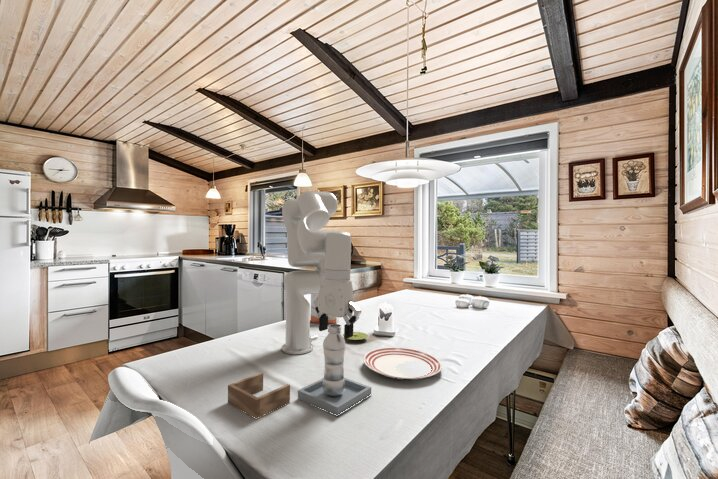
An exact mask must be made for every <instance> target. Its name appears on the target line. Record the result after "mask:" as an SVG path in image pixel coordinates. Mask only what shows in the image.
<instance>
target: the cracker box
mask: <svg viewBox="0 0 718 479" xmlns="http://www.w3.org/2000/svg"><path fill="white" fill-rule="evenodd" d="M318 298H319V293H318V294H310V323H318V324H319V317H318V313H317V312H316V310H315V308H316V307H315V305H314V300H316V299H318ZM326 316H328V324H330V323H331V324H338V323H339V319H340V317H336V316H332V315H328V314H327V315H326Z"/></svg>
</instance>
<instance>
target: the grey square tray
mask: <svg viewBox="0 0 718 479" xmlns="http://www.w3.org/2000/svg"><path fill="white" fill-rule="evenodd" d="M344 379H345V390H344V392H343V393H342V394H341V395H339V396H328V395H326V394H325V393H324V391H323V387H322V383H323V378H321V379H319V380H317V381H315V382H313V383H310V384H308V385H306V386H304V387H302V388H300V389H297V400H299V401H301V400H302V402H304V403H306V404H308V403H309V404H308V405H310V404H312V405H314V406H316V407H315V408H317V407H319V408H321V409H324V410H326V411H328V412H331V413H333V414H336V415H338V414H340V413H341V412H343V411H345V410H346V409H348V408H350V407H351V406H353V405H354V404H356V403H358V402H359V401H361V400H362V399H364V398H366V397H367V396H369V395H370V394H371V395H372V386H369V385H366V384H362V383H360V382H358V381H354V380H352V379H349V378H346V377H344ZM312 405H311V406H312ZM314 406H313V407H314ZM319 408H318V409H319ZM321 409H320V410H321Z"/></svg>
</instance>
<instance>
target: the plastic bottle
mask: <svg viewBox="0 0 718 479" xmlns="http://www.w3.org/2000/svg"><path fill="white" fill-rule="evenodd" d="M327 333H328V334H327V335H326V336H325V338H324V339H323V343H322V348H323V355H324V356H323V357H324V369H323V372H324V373H323V378H322V379H323V383H322V387H323V391H324V393H325V394H326V395H328V396H339V395H341V394H342V393H343V392H344V390H345V379H344V378H345V372H344V361H345V360H344V359H345V354H346V353H345V351H346V340H345V338H344V337H343V334H341V333H342V324H339V323H336V324H330V323H329V324H328V329H327Z"/></svg>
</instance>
